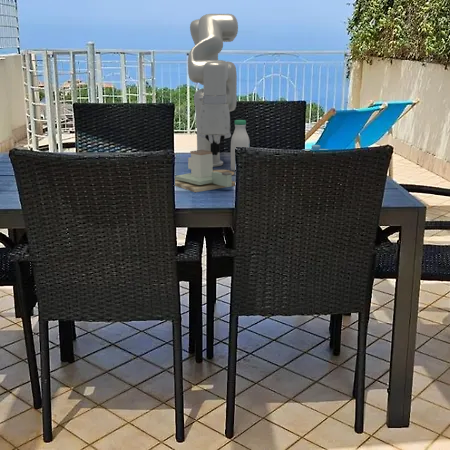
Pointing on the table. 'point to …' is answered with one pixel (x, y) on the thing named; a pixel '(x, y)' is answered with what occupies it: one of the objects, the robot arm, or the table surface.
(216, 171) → the mat
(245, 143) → the milk bottle
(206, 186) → the stand
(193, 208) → the table surface
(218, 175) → the green piece
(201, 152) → the box with copper trim
